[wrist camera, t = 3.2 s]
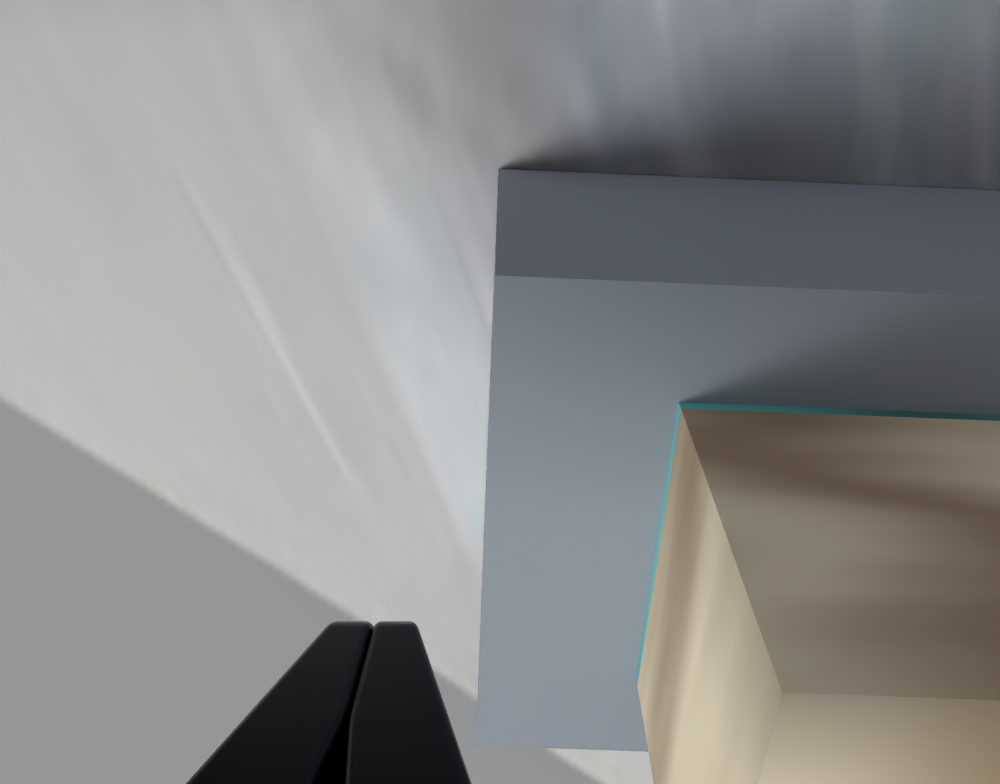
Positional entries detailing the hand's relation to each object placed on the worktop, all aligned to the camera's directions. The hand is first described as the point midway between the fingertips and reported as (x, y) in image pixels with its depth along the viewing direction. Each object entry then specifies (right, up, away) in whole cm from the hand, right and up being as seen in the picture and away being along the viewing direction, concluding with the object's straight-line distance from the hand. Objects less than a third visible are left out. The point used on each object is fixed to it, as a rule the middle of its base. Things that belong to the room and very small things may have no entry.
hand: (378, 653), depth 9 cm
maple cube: (+7, 0, +7) cm, 10 cm away
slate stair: (+10, +2, +12) cm, 16 cm away
